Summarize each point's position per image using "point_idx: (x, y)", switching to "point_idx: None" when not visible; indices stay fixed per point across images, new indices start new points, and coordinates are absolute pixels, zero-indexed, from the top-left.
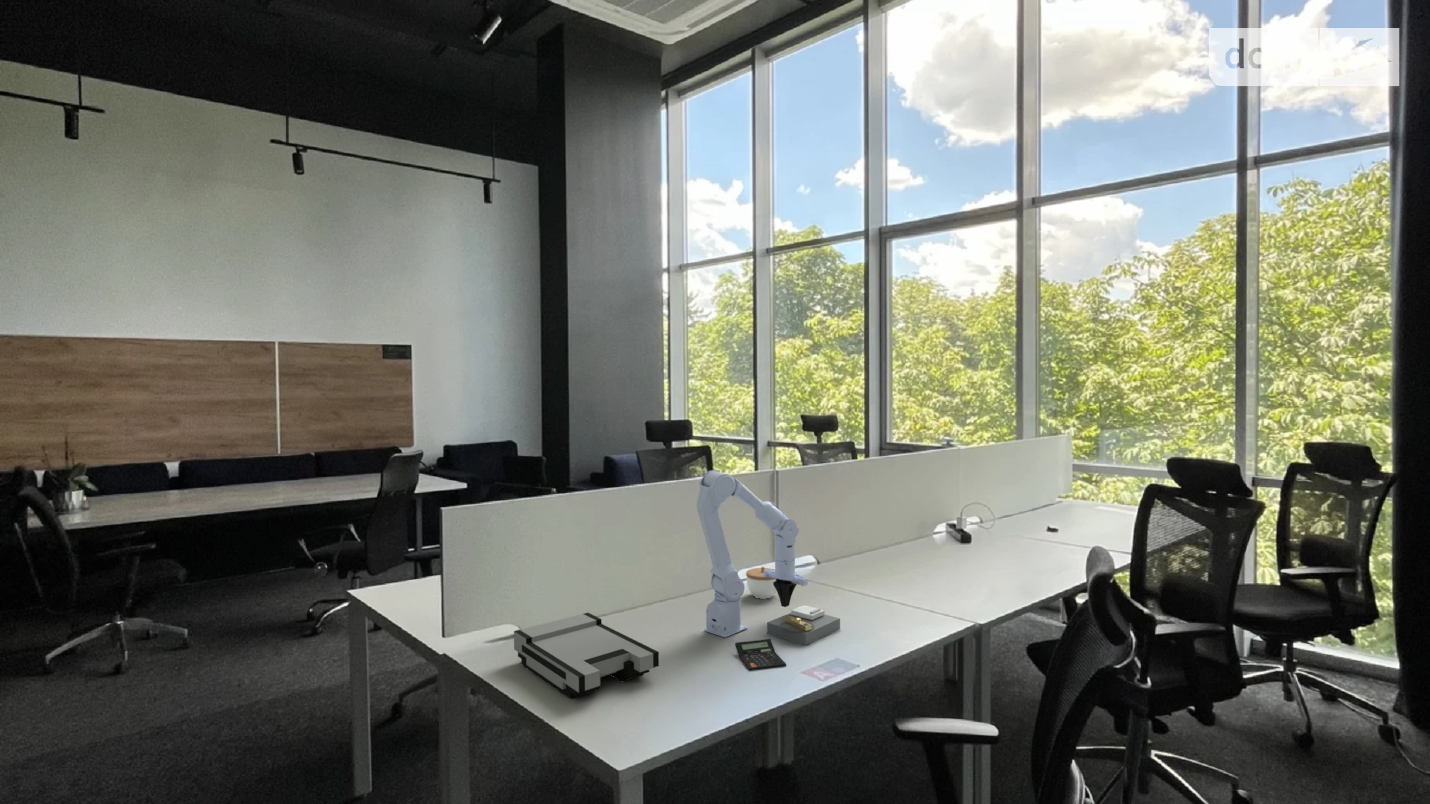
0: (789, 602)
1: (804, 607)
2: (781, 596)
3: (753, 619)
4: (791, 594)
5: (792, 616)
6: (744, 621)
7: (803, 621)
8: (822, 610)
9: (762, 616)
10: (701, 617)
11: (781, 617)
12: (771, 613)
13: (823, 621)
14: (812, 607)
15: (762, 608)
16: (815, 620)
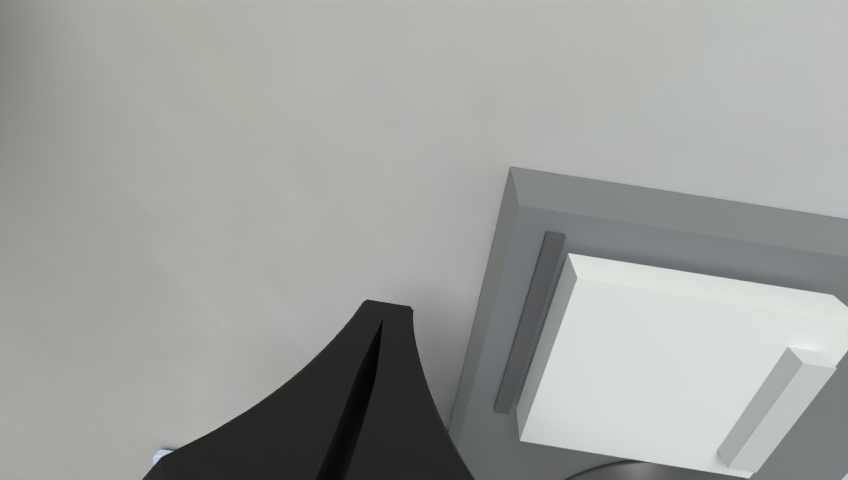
0: (412, 327)
1: (611, 340)
2: (350, 457)
3: (225, 349)
4: (426, 394)
5: None
6: (212, 396)
7: (665, 478)
8: (843, 334)
9: (224, 278)
10: (5, 439)
11: (468, 459)
12: (224, 187)
13: (833, 408)
14: (700, 301)
15: (73, 115)
16: None
